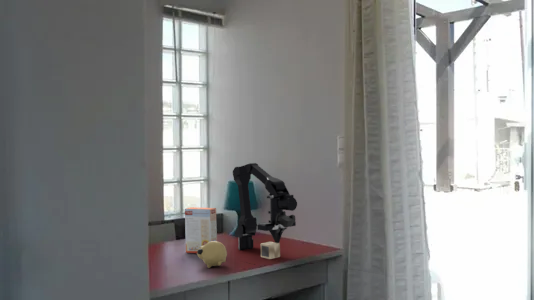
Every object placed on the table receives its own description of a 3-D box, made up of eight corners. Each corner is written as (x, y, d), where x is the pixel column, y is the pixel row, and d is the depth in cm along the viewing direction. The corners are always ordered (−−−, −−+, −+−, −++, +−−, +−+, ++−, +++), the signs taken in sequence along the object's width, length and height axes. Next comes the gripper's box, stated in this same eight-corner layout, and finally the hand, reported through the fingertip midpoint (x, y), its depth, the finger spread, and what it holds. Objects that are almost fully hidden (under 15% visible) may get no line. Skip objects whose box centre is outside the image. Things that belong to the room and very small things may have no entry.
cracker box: (217, 252, 234) (216, 207, 234) (211, 255, 229) (210, 209, 229) (192, 250, 240) (191, 206, 240) (185, 252, 235) (184, 208, 235)
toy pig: (203, 263, 213) (203, 238, 213) (230, 264, 210) (229, 239, 210) (194, 268, 204) (193, 242, 204) (221, 270, 200) (221, 243, 200)
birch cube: (280, 256, 220) (269, 259, 216) (270, 254, 224) (260, 257, 220) (280, 243, 220) (269, 245, 216) (270, 241, 224) (260, 243, 220)
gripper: (274, 212, 211) (274, 249, 211) (304, 208, 224) (305, 243, 224) (256, 210, 219) (257, 246, 219) (286, 206, 232) (287, 240, 232)
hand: (277, 243), depth 223 cm, fingers closed
